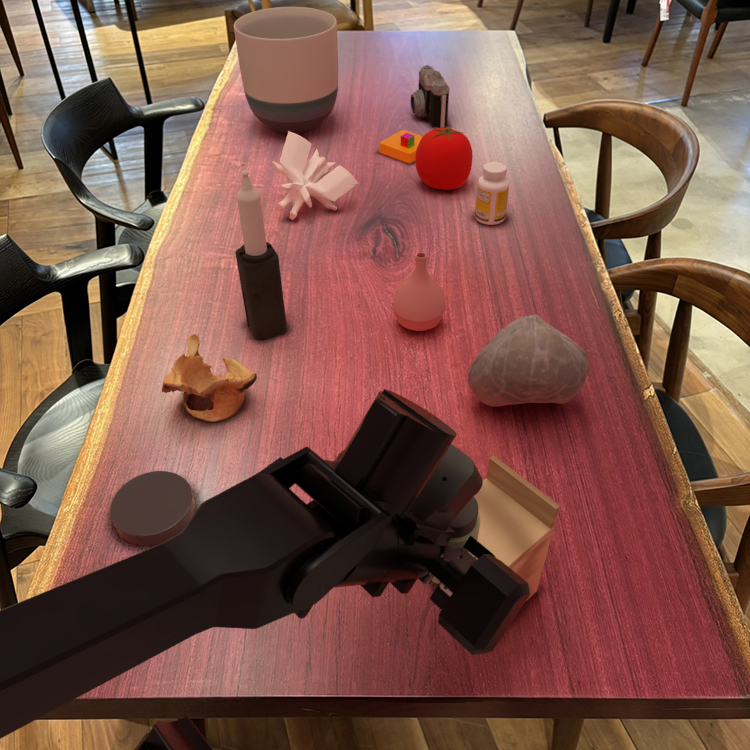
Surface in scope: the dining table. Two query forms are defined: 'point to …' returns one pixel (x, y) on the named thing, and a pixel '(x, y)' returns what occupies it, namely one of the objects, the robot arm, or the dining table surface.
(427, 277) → the pink bud vase
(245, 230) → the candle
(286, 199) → the figurine
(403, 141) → the orange square tile
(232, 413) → the bone
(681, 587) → the dining table surface
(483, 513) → the miniature wooden chair
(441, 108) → the camera
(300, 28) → the planter
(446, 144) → the tomato
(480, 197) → the supplement bottle
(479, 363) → the decorative stone
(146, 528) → the trivet
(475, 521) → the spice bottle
